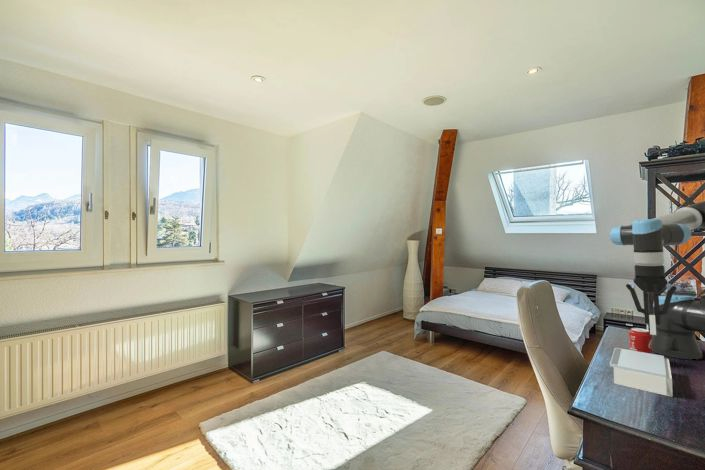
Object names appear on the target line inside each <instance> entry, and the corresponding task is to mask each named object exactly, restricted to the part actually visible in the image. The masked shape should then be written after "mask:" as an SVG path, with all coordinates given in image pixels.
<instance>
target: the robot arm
mask: <svg viewBox="0 0 705 470" xmlns="http://www.w3.org/2000/svg"><path fill="white" fill-rule="evenodd" d="M697 229H705V200H704V201H701V202H697V203H693V204H690V205H685V206H683V207H681V208H677V209H676V210H675V211H673V212H671V213H667V214H665V215H660V216H657V217H654V218H651V219H649V218H648V219H636V220H634V221H632V223H631V224H630V225H620V226H614V227H613V228H612V229H610V232H609V240H610V241H611V243H612V244H613V245H617V246H633V262H634V264H635V265H634V278H633V281H632V282H629V283H626V284H625V287H626V288H627V289H628V290H629V292H630V295H631V298H632V300H633V302H634V307H635V308H636V311H637V312H638V313H641V314H643V315H644V323H645V324H647V325H649V333H650V334H651V335H652V353H656V354H657V355H661V356H664V357H671V358H675V359H681V360H682V359H683V360H692V359H696V360H702V359H703V351H702V349H700V345H699V343H698V340H697V338H696V333H699V334H705V293H702V294H701V295H700V298H699V300H696V299H695V297H694V296H692V295H673V294H674V293H675V292H676V291H677V289H678V288H677V287H678V286H676V285H673V284H672V283H670V282H668V280H667V279H666V273H665V272H666V271H665V270H666V269H665V265H664V264H665V255H664V247H665V246H667V247H668V246H679V245H685V244H687V242H690V239H691V237H692V230H697ZM636 286H637V287H638V288H639V289H640V290H641V291H642V294H643V295H642V297H643V307H642V305H641V302H640V300H639V298H638V294H637V293H636V290H635V288H636ZM664 288H666V290H667V291H666V294H665V295H659V292H661V291H662V289H663V290H664ZM649 292H650V293H653V304H652V308H653V313H650V304H649V301H650V300H649Z"/></svg>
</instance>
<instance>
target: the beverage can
mask: <svg viewBox="0 0 705 470" xmlns="http://www.w3.org/2000/svg"><path fill="white" fill-rule="evenodd" d="M628 341H629V342H628V343H629V348H628V350H632V351H638V352H644V353H650V354H653V351H652V335H651V334H650V329H646V328H640V327H631V329H630V330H629V332H628Z"/></svg>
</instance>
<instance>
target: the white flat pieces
mask: <svg viewBox="0 0 705 470" xmlns="http://www.w3.org/2000/svg"><path fill="white" fill-rule="evenodd" d="M664 361H665V369H666V378H663V377H658V376H653V375H648V374H643V373H638V372H634V371H629V370H624V369H619V368H614V367H613V384H615V385H619V386H624V387H628V388H632V389H637V390H642V391H645V392H650V393H653V394H656V395H657V394H659V395H663V396H666V397H672V398H673V378H672V371H671V365H670V360H669V358H666V357H664Z"/></svg>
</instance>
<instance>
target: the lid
mask: <svg viewBox="0 0 705 470" xmlns="http://www.w3.org/2000/svg"><path fill="white" fill-rule="evenodd" d="M664 358H665V355H661V354H653V353H652V354H650V353H644V352H638V351H632V350H629V349H625V348H619V347H614V349H613V351H612V356H611V359H610V361H609V367H610V368H613V369H614V368H619V369H624V370H629V371H634V372H638V373H643V374H648V375H653V376H658V377H663V378H666V369H665V361H664Z"/></svg>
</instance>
